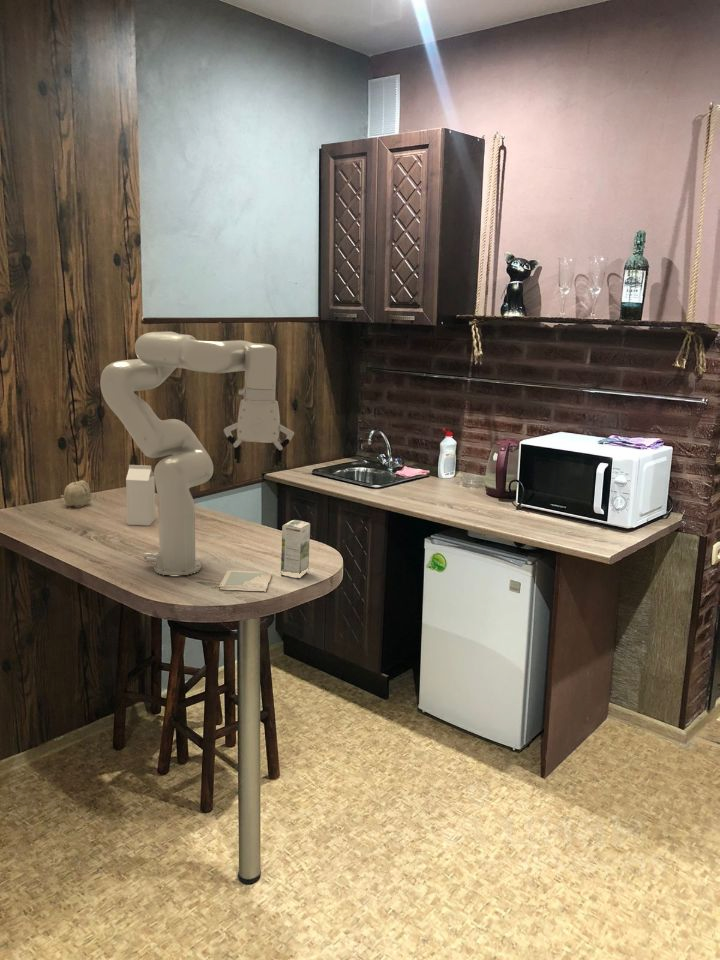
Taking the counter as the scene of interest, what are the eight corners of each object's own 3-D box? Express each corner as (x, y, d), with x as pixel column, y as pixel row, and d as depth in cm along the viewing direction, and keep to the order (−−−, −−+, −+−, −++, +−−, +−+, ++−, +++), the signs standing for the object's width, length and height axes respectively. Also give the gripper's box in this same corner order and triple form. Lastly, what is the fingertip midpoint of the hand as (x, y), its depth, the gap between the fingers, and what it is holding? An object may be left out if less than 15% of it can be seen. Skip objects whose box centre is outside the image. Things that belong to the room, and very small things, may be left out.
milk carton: (149, 526, 254) (148, 468, 250) (127, 525, 254) (125, 467, 250) (155, 520, 261) (154, 463, 257) (133, 519, 261) (132, 462, 257)
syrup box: (289, 569, 220) (290, 519, 216) (309, 572, 218) (310, 522, 214) (280, 575, 215) (281, 524, 211) (300, 579, 213) (301, 527, 209)
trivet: (219, 590, 203) (219, 586, 202) (227, 573, 214) (227, 570, 214) (266, 592, 203) (266, 588, 202) (272, 575, 214) (272, 572, 214)
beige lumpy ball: (89, 510, 277) (98, 483, 277) (82, 513, 269) (92, 485, 268) (63, 501, 276) (72, 474, 276) (55, 503, 268) (65, 476, 268)
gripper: (221, 395, 190) (220, 464, 194) (293, 399, 190) (291, 468, 194) (227, 391, 197) (226, 458, 202) (296, 395, 197) (294, 462, 201)
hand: (258, 463), depth 198 cm, fingers open, 9 cm apart
